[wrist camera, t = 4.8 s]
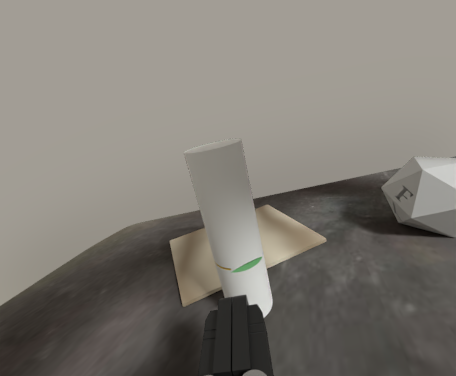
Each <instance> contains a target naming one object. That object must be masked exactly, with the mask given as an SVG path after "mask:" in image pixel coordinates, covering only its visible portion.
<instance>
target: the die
mask: <svg viewBox="0 0 456 376" xmlns="http://www.w3.org/2000/svg"><path fill="white" fill-rule="evenodd" d="M381 189H382V191H383V193H384V195H385V197H386V199H387V201H388V203H389V205H390V207H391V209H392V211H393V213H394V215H395V217H396V219H397V221H398V223H401V224H405V225H409V226H412V227H416V228H420V229H423V230H427V231H431V232H434V233H438V234H442V235H445V236H449V237H453V238H456V158H439V157H437V158H436V157H413V158H411V160H409V161H408V162H407V163H406V164H405V165H404V166H403V167H402V168H401V169H400V170H399V171H398V172H397V173H396V174H395V175H394V176H393V177H392V178H391V179H390V180H388V181H387V182H386V183H385V184H384V185H383V186H382V187H381Z"/></svg>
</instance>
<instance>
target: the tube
mask: <svg viewBox="0 0 456 376" xmlns="http://www.w3.org/2000/svg"><path fill="white" fill-rule="evenodd" d="M184 155H185V159H186V162H187V166H188V169H189V173H190V176H191V180H192V183H193V187H194V191H195V194H196V197H197V201H198V205H199V208H200V212H201V215H202V219H203V222H204V226H205V229H206V233H207V237H208V240H209V244H210V247H211V251H212V254H213V258H214V262H215V265H216V269H217V272H218V276H219V279H220V283H221V286H222V290H223V293H224V297H225V298H227V297H233V296H240V295H246V296H247V299H248V303H249V305H254V304H257V305H258V306H259V308H260V309H261V311H262V313H263V317H265V316H266V315H267V314H268V313H269V312H270V310H271V308H272V303H273V301H272V295H271V290H270V285H269V279H268V274H267V269H266V264H265V259H264V254H263V249H262V244H261V238H260V233H259V228H258V223H257V217H256V212H255V207H254V202H253V197H252V192H251V187H250V182H249V176H248V171H247V167H246V162H245V156H244V151H243V146H242V141H241V139H228V140H222V141H218V142H213V143H209V144H205V145H201V146H198V147H195V148H191V149H189V150H187V151H185V152H184Z"/></svg>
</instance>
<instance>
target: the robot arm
mask: <svg viewBox="0 0 456 376" xmlns="http://www.w3.org/2000/svg"><path fill="white" fill-rule="evenodd" d="M198 376H274V375H273V369H272V363H271V356H270V350H269V343H268V337H267V331H266V326H265V322H264V317H263V313H262V311H261V309H260V308H259V306H258V305H257V304H254V305H249V303H248V299H247V296H246V295H240V296H233V297H227V298H220V299H219V301H218V310H214V311H210V313H209V315H208V317H207V319H206V321H205V328H204V336H203V343H202V350H201V358H200V365H199V372H198Z"/></svg>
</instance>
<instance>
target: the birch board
mask: <svg viewBox="0 0 456 376" xmlns="http://www.w3.org/2000/svg"><path fill="white" fill-rule="evenodd" d="M255 212H256V217H257V223H258V228H259V233H260V238H261V244H262V249H263V254H264V259H265V264H266V269H267V268H270V267H272V266H274V265H276V264H278V263H280V262H283V261H285V260H287V259H289V258H291V257H293V256H296V255H298V254H300V253H302V252H304V251H306V250H309V249H311V248H313V247H315V246H317V245H320V244H322V243H324V242H326V238H324V237H323V236H321V235H319V234H318V233H316V232H314V231H312V230H311V229H309V228H307V227H306V226H304V225H302V224H300V223H299V222H297V221H295V220H293V219H292V218H290V217H288V216H287V215H285V214H283V213H281V212H280V211H278V210H276V209H275V208H273V207H271V206H269V205H265V206H262V207H259V208H257V209H255ZM170 246H171V251H172V256H173V261H174V266H175V271H176V276H177V281H178V286H179V290H180V295H181V300H182V305H183V307H185V306H187V305H189V304H191V303H194V302H196V301H198V300H200V299H202V298H204V297H207V296H209V295H211V294H213V293H215V292H217V291H220V290H222V286H221V283H220V279H219V276H218V272H217V269H216V265H215V262H214V258H213V254H212V251H211V247H210V244H209V240H208V237H207V233H206V229H205V228H203V229H200V230H197V231H194V232H192V233H189V234H186V235H184V236H181V237H178V238H175V239H173V240H170Z"/></svg>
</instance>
